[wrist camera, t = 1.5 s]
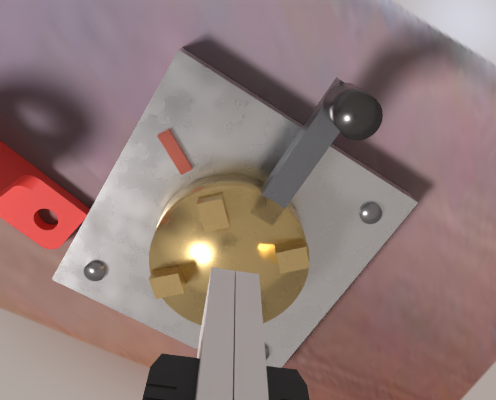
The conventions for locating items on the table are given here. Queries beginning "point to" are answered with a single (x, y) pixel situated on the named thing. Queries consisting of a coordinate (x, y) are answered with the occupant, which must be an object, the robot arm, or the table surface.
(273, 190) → the ball knob lever
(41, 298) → the table surface
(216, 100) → the flange plate
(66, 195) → the bracket
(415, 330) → the table surface
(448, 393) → the table surface
